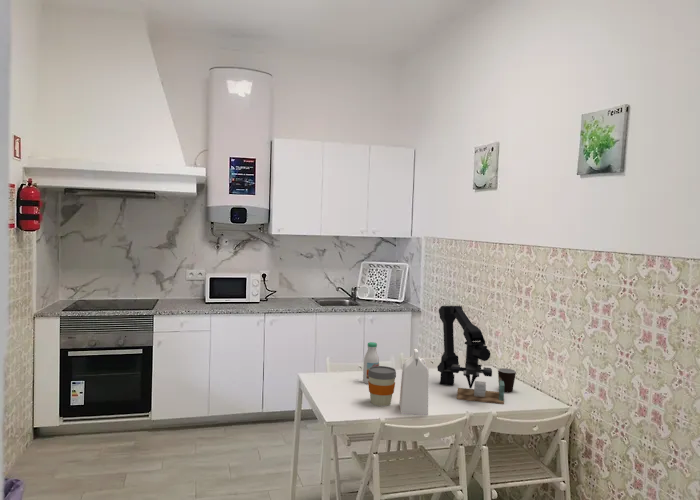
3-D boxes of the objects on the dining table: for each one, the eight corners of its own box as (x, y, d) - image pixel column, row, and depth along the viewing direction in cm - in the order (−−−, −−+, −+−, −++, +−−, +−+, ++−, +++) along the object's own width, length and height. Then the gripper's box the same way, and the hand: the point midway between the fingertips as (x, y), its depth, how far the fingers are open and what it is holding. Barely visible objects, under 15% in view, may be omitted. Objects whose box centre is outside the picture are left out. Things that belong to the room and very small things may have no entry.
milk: (399, 404, 251) (402, 346, 250) (425, 405, 251) (428, 347, 249) (400, 413, 239) (403, 353, 238) (428, 414, 239) (431, 354, 237)
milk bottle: (360, 383, 280) (362, 343, 279) (366, 379, 288) (367, 340, 286) (375, 385, 278) (377, 345, 276) (380, 381, 285) (382, 342, 284)
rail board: (456, 399, 262) (457, 382, 261) (457, 391, 273) (458, 375, 273) (503, 404, 257) (504, 387, 257) (502, 396, 269) (503, 379, 268)
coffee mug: (515, 394, 274) (516, 373, 273) (497, 392, 275) (498, 372, 275) (513, 387, 285) (514, 367, 284) (496, 385, 287) (497, 366, 286)
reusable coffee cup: (375, 396, 261) (376, 364, 260) (399, 401, 254) (401, 369, 254) (361, 403, 250) (363, 370, 249) (386, 409, 244) (388, 375, 243)
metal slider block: (474, 396, 263) (474, 384, 263) (474, 392, 268) (474, 380, 268) (485, 397, 262) (485, 385, 262) (484, 393, 267) (485, 382, 267)
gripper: (451, 357, 259) (449, 391, 260) (493, 361, 255) (491, 395, 256) (452, 352, 270) (450, 384, 271) (492, 356, 266) (490, 388, 267)
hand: (470, 388), depth 266 cm, fingers closed
